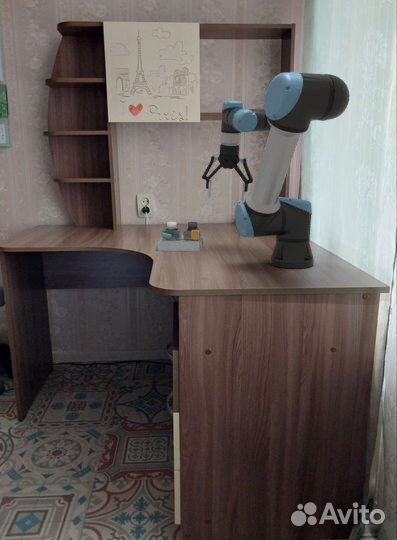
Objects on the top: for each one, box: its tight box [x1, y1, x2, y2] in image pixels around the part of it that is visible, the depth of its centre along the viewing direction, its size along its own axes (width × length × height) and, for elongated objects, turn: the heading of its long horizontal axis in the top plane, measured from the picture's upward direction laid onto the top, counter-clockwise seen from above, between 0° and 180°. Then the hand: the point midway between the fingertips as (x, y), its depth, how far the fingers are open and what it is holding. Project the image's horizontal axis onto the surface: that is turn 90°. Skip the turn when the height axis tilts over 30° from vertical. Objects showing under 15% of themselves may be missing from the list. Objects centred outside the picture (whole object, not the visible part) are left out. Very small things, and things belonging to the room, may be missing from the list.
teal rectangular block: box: [160, 233, 172, 239], centre depth 176 cm, size 2×4×1 cm, turn 84°
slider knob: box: [191, 230, 199, 240], centre depth 174 cm, size 3×3×4 cm
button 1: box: [166, 220, 178, 230], centre depth 182 cm, size 4×4×3 cm
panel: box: [157, 227, 204, 252], centre depth 179 cm, size 15×17×7 cm
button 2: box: [187, 221, 198, 230], centre depth 181 cm, size 4×4×3 cm
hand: (225, 198), depth 172 cm, fingers open, 13 cm apart
